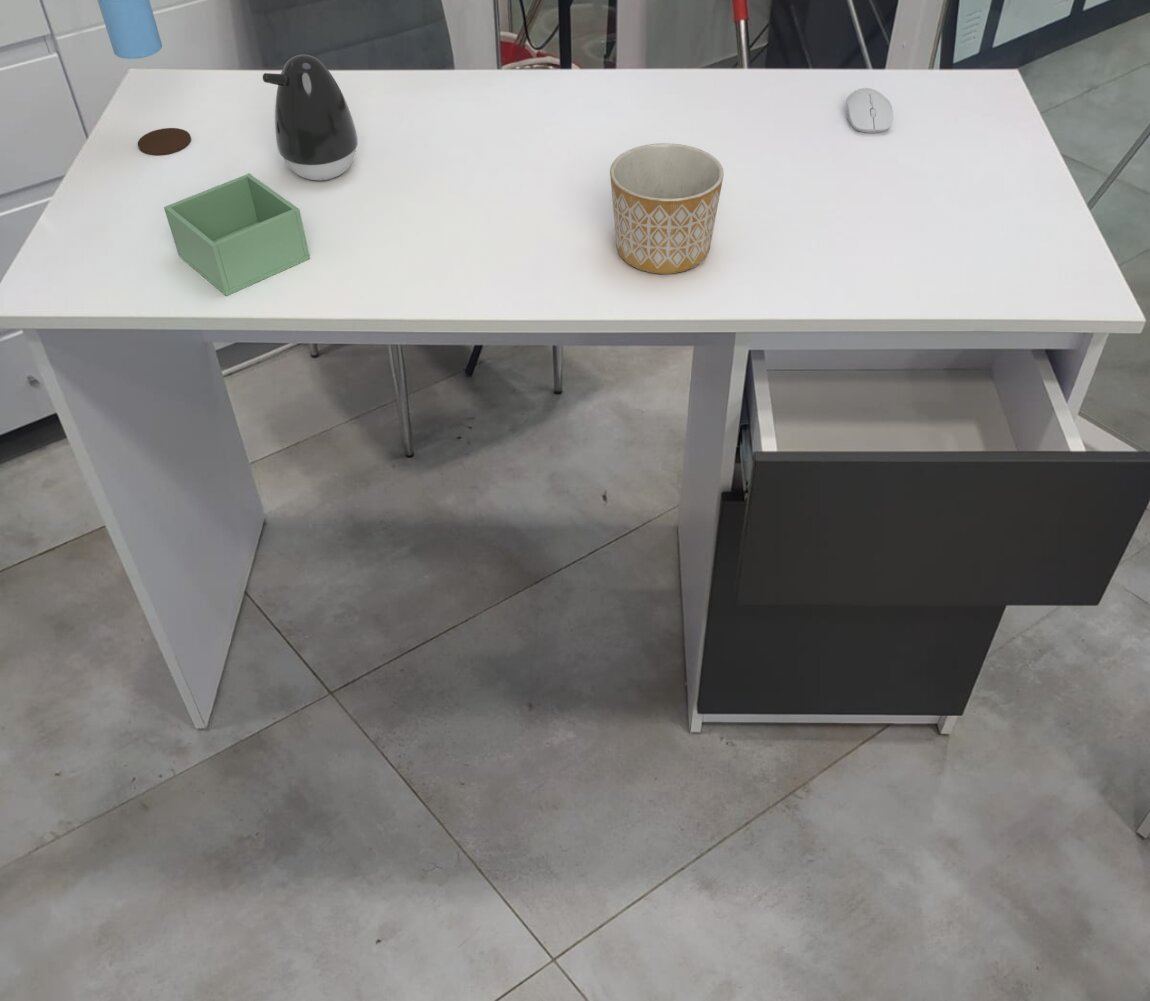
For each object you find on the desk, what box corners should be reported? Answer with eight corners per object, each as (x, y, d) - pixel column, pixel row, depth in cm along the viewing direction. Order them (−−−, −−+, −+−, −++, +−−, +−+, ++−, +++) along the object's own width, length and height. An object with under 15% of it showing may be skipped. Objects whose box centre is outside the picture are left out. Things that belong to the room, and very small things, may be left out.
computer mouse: (850, 136, 150) (854, 114, 148) (840, 102, 157) (843, 81, 155) (895, 135, 150) (899, 114, 148) (882, 102, 157) (886, 81, 155)
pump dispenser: (269, 167, 147) (243, 53, 136) (339, 144, 151) (319, 31, 140) (303, 199, 141) (279, 83, 130) (376, 174, 145) (358, 59, 134)
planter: (618, 218, 137) (619, 138, 129) (721, 227, 135) (728, 147, 127) (600, 276, 128) (600, 194, 120) (710, 286, 126) (717, 204, 119)
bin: (226, 296, 126) (211, 246, 122) (178, 256, 132) (163, 206, 127) (310, 258, 131) (299, 208, 127) (261, 221, 137) (249, 173, 133)
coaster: (153, 160, 148) (152, 157, 148) (129, 142, 152) (128, 139, 152) (200, 143, 152) (199, 140, 151) (175, 125, 155) (175, 122, 155)
